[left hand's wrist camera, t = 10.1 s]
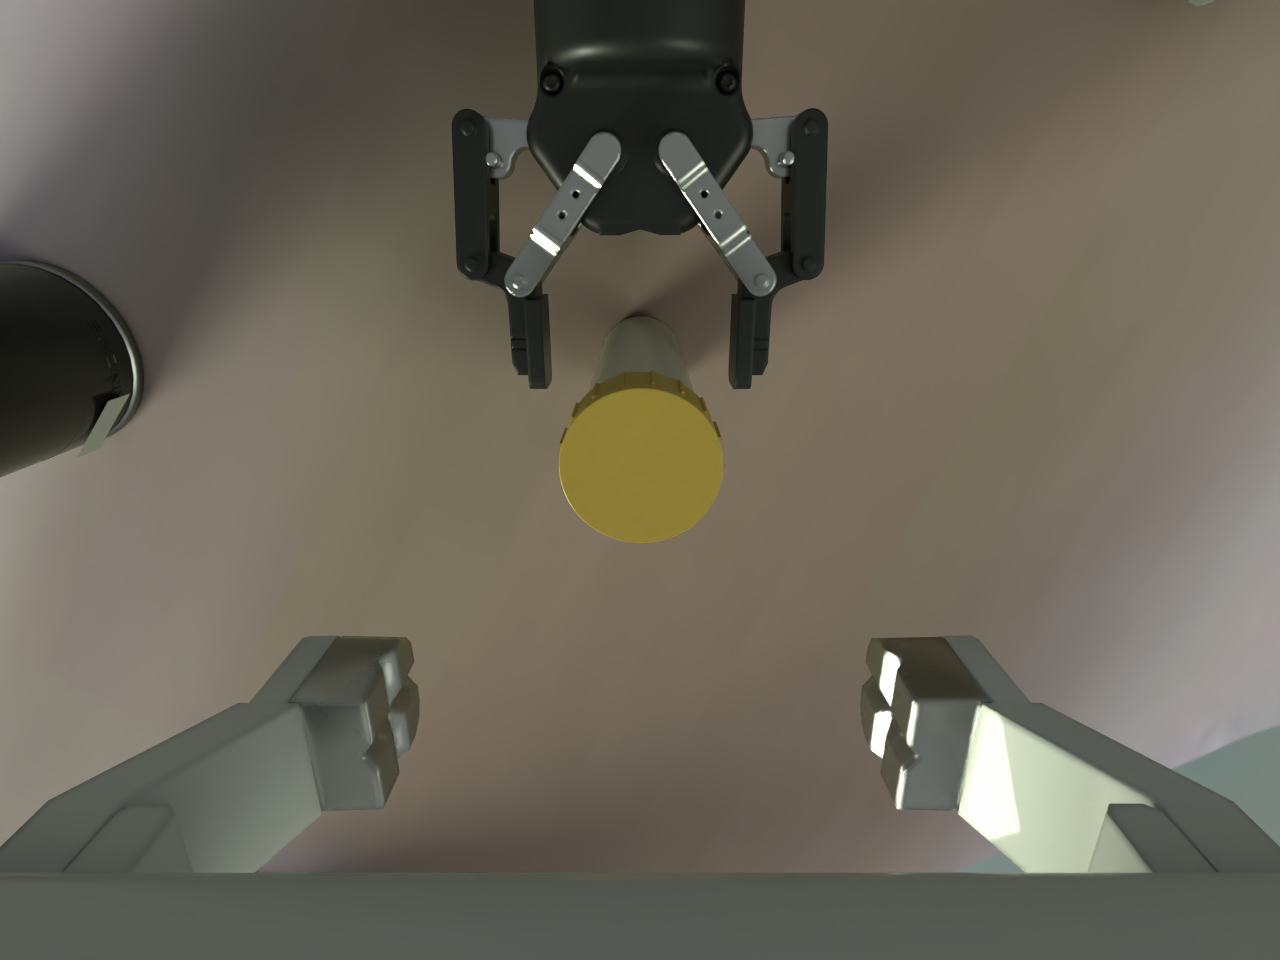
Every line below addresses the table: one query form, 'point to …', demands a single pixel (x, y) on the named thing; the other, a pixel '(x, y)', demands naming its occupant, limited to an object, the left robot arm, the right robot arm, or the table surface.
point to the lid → (641, 458)
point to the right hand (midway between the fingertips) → (640, 385)
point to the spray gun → (1200, 2)
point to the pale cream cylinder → (641, 351)
